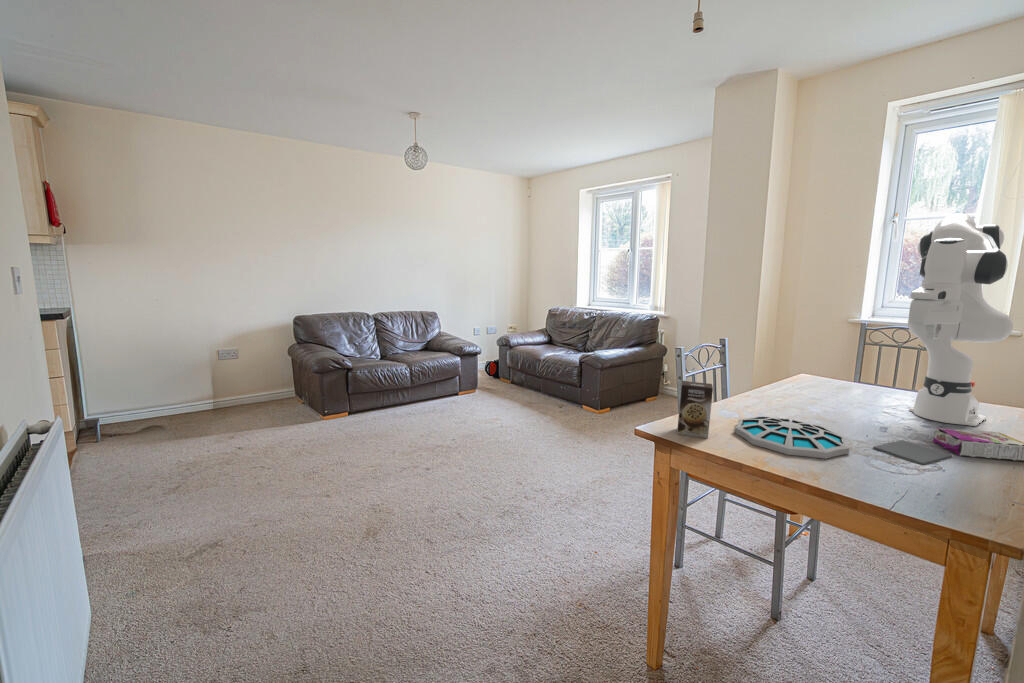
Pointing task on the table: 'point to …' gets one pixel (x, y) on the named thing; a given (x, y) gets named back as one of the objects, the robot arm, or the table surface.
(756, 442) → the decorative platform
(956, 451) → the candy bar box
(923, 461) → the mat
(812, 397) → the table surface
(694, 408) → the brown food box
